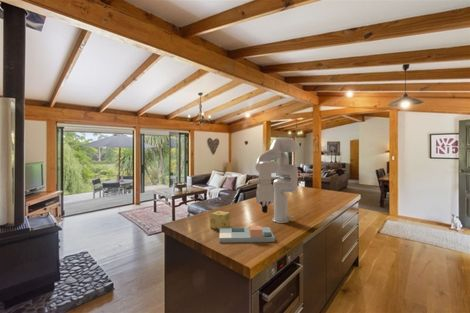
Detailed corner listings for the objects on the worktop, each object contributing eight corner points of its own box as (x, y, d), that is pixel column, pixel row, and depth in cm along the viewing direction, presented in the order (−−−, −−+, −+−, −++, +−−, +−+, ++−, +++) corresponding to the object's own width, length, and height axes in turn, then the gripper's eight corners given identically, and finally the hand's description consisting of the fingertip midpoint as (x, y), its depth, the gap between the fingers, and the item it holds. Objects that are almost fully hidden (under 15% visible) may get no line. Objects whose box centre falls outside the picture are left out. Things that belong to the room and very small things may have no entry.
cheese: (222, 230, 152) (222, 215, 152) (209, 227, 158) (209, 213, 158) (230, 226, 161) (230, 212, 161) (218, 223, 167) (218, 210, 167)
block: (260, 233, 141) (260, 225, 141) (262, 237, 134) (262, 229, 134) (248, 233, 141) (249, 225, 141) (250, 237, 134) (250, 229, 134)
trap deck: (268, 230, 152) (268, 227, 152) (274, 241, 134) (274, 237, 134) (219, 231, 151) (219, 227, 150) (219, 242, 133) (219, 238, 133)
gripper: (255, 183, 135) (255, 214, 135) (279, 182, 138) (278, 213, 139) (251, 181, 142) (250, 211, 142) (273, 181, 146) (273, 210, 146)
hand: (264, 212), depth 141 cm, fingers closed
